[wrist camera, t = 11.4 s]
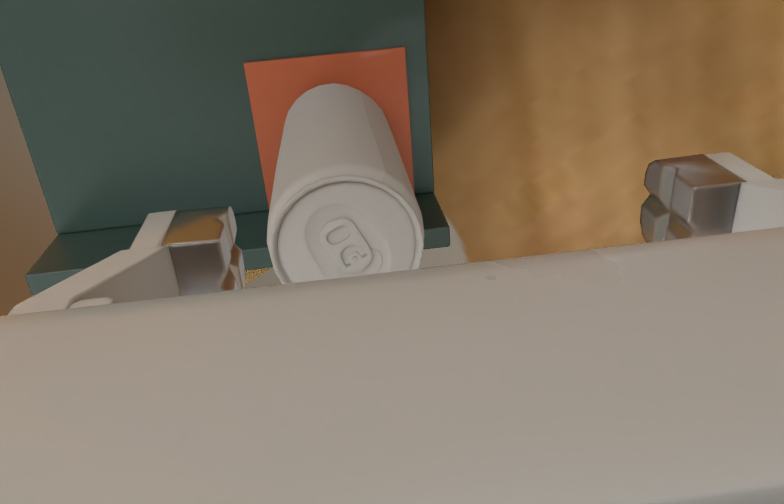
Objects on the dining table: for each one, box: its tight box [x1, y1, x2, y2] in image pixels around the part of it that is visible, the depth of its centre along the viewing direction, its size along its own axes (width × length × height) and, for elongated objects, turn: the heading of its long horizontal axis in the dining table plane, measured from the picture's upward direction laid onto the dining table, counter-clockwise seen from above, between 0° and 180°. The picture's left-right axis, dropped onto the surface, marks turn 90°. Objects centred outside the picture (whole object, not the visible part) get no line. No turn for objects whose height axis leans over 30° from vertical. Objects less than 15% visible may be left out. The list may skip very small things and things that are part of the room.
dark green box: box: [0, 0, 450, 295], centre depth 30 cm, size 15×18×11 cm
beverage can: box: [267, 83, 425, 284], centre depth 25 cm, size 5×5×12 cm
